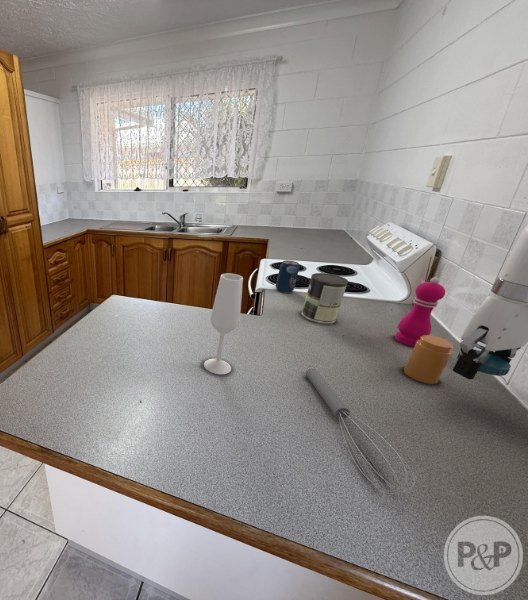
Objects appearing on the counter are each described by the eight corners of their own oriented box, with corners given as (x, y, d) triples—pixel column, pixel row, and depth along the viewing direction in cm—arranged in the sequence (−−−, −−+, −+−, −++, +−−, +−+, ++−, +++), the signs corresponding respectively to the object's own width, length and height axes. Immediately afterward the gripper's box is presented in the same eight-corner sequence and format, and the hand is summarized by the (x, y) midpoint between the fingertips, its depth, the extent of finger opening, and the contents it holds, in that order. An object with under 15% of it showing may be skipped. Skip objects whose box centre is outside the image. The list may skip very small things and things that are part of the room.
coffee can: (296, 316, 106) (307, 277, 100) (307, 307, 113) (317, 270, 107) (330, 327, 99) (343, 286, 94) (339, 317, 106) (352, 278, 100)
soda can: (292, 294, 124) (299, 266, 119) (273, 291, 127) (279, 262, 123) (294, 289, 129) (301, 261, 125) (276, 286, 133) (282, 258, 128)
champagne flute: (223, 378, 75) (239, 284, 65) (198, 366, 79) (210, 276, 69) (235, 366, 79) (252, 276, 69) (212, 355, 83) (224, 270, 74)
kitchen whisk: (319, 372, 77) (326, 351, 75) (415, 510, 47) (432, 482, 44) (293, 370, 78) (299, 348, 75) (371, 505, 47) (386, 476, 45)
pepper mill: (421, 339, 93) (450, 276, 85) (426, 350, 88) (458, 284, 80) (391, 332, 97) (416, 271, 89) (394, 343, 91) (421, 278, 83)
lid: (470, 371, 60) (475, 364, 60) (449, 352, 66) (452, 346, 66) (517, 379, 58) (521, 371, 58) (490, 359, 65) (494, 352, 64)
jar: (429, 370, 79) (445, 336, 75) (443, 386, 73) (462, 350, 69) (399, 365, 81) (413, 332, 77) (411, 380, 75) (427, 345, 71)
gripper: (529, 282, 61) (485, 358, 68) (462, 287, 58) (423, 366, 65) (588, 297, 54) (532, 380, 62) (515, 303, 51) (465, 390, 58)
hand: (476, 372), depth 63 cm, fingers closed on lid, 6 cm apart
